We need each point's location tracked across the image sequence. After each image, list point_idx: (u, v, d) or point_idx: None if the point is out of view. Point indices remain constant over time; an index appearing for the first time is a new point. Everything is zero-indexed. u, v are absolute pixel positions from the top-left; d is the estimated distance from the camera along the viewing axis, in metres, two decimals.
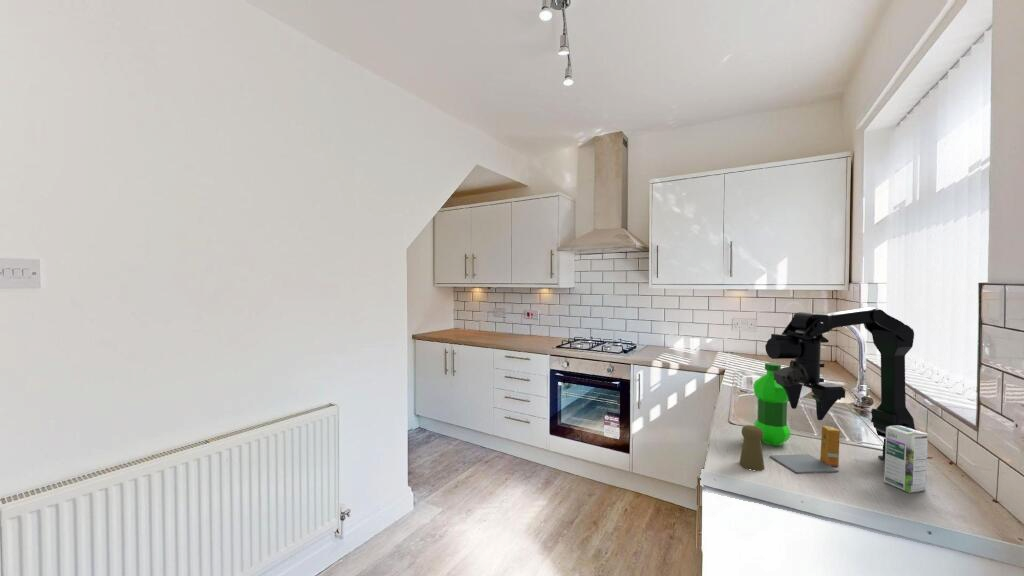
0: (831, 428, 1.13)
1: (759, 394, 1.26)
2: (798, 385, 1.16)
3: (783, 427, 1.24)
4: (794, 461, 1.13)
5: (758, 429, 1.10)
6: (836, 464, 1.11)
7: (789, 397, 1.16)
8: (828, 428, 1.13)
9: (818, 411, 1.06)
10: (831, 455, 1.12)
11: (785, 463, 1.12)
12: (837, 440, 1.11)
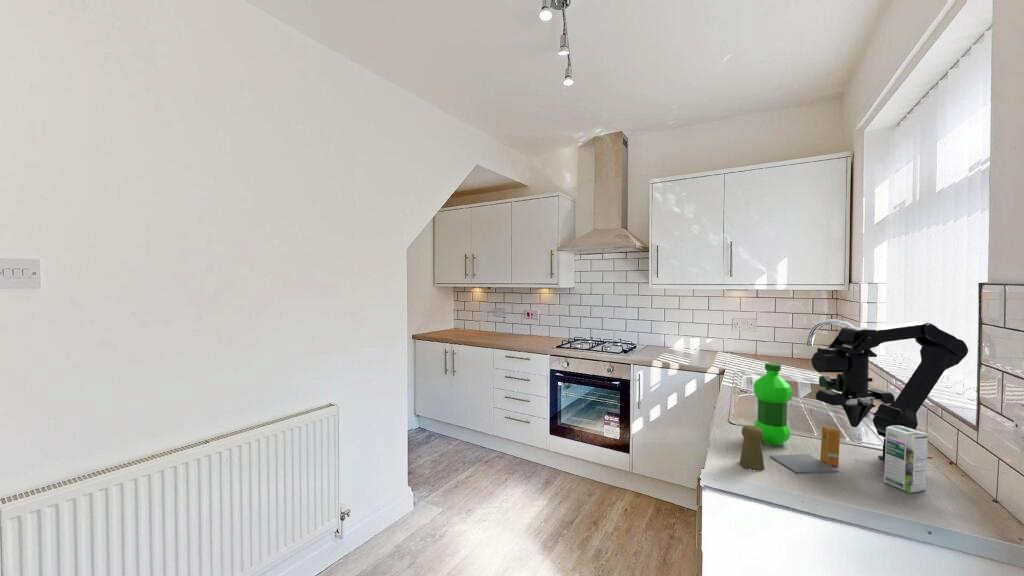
0: (831, 428, 1.13)
1: (759, 394, 1.26)
2: (862, 405, 1.12)
3: (783, 427, 1.24)
4: (794, 461, 1.13)
5: (758, 429, 1.10)
6: (836, 464, 1.11)
7: None
8: (828, 428, 1.13)
9: None
10: (831, 455, 1.12)
11: (785, 463, 1.12)
12: (837, 440, 1.11)
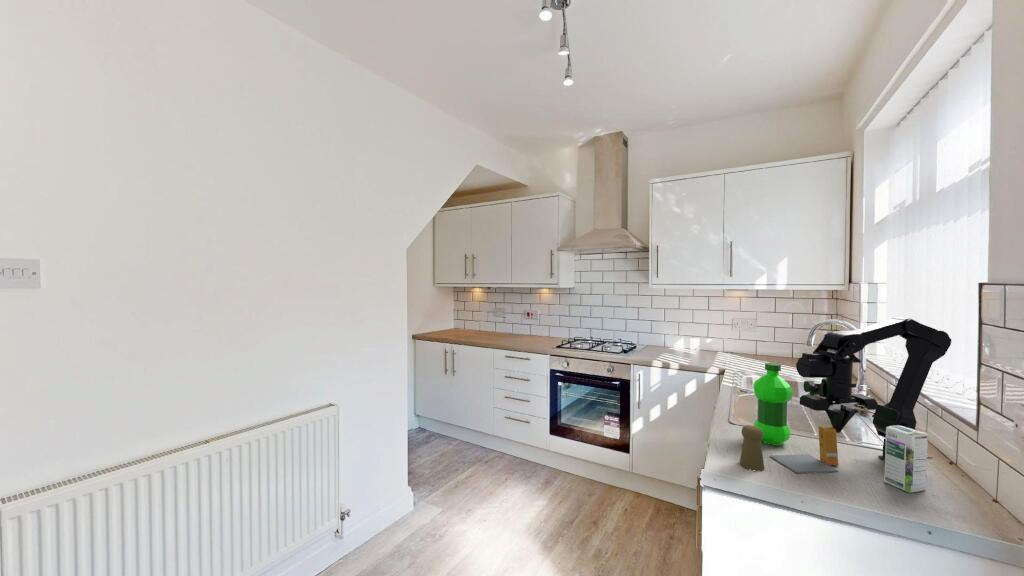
0: (827, 427, 1.13)
1: (759, 394, 1.26)
2: (845, 411, 1.11)
3: (783, 427, 1.24)
4: (794, 461, 1.13)
5: (758, 429, 1.10)
6: (836, 463, 1.11)
7: None
8: (824, 428, 1.13)
9: None
10: (830, 455, 1.12)
11: (785, 463, 1.12)
12: (834, 439, 1.11)
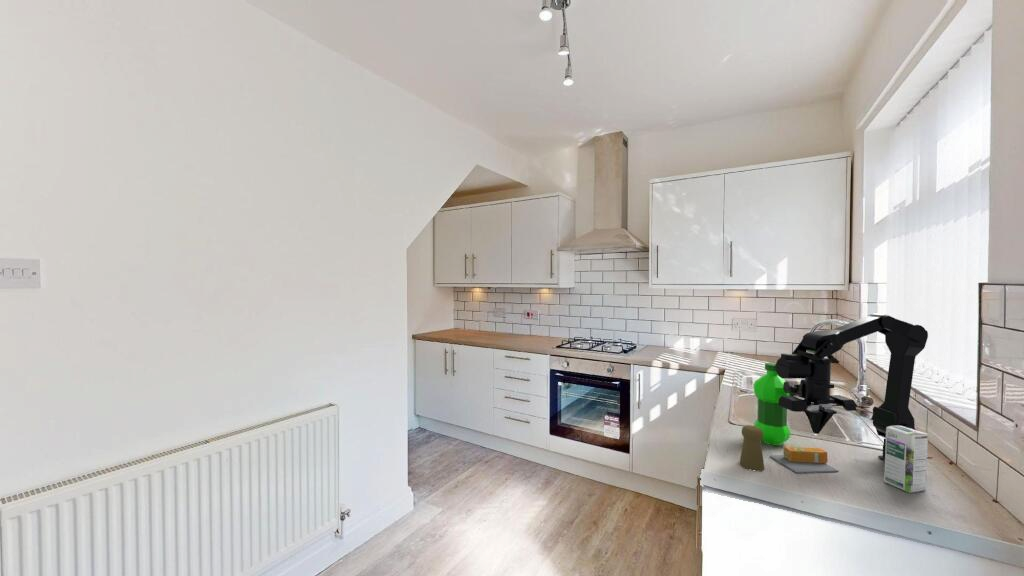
0: (786, 453, 1.15)
1: (759, 394, 1.26)
2: (823, 412, 1.11)
3: (783, 427, 1.24)
4: None
5: (758, 429, 1.10)
6: (826, 454, 1.12)
7: None
8: (787, 456, 1.14)
9: None
10: (817, 458, 1.12)
11: (785, 463, 1.12)
12: (799, 453, 1.13)
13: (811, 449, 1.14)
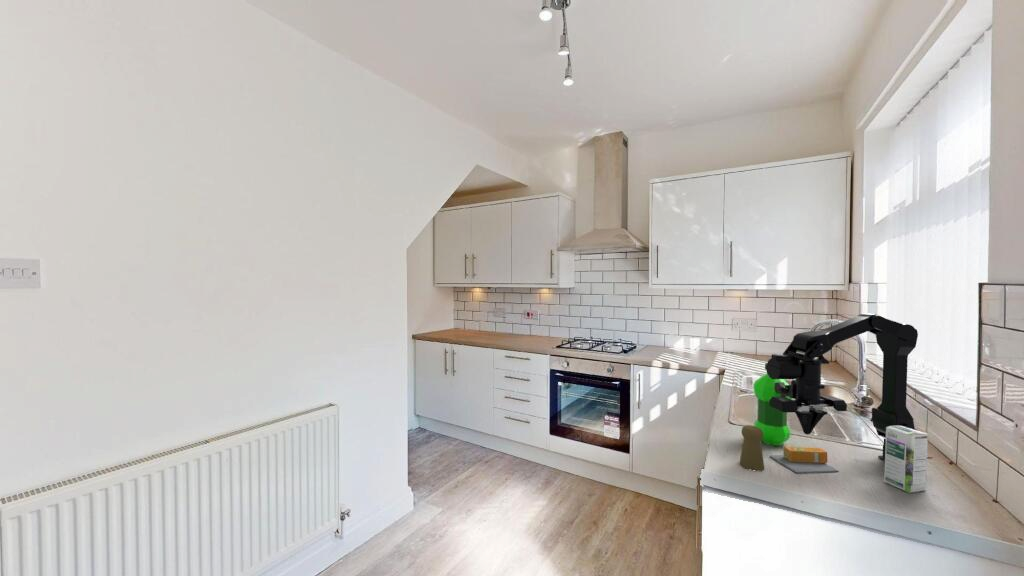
0: (786, 453, 1.15)
1: (759, 394, 1.26)
2: (814, 412, 1.11)
3: (783, 427, 1.24)
4: None
5: (758, 429, 1.10)
6: (825, 454, 1.12)
7: None
8: (787, 457, 1.14)
9: None
10: (817, 458, 1.12)
11: (785, 463, 1.12)
12: (799, 453, 1.13)
13: (811, 449, 1.14)
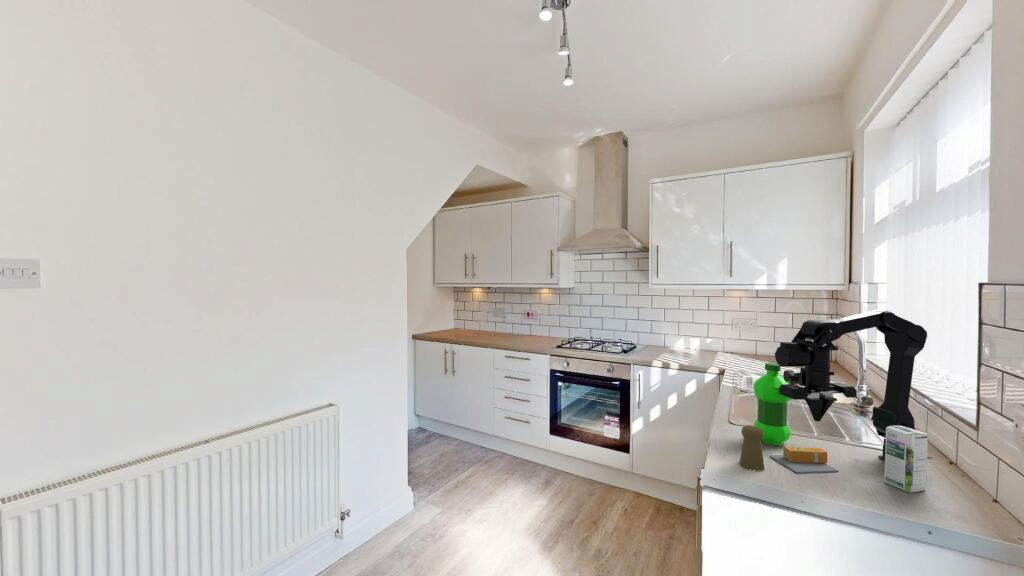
0: (786, 453, 1.15)
1: (759, 394, 1.26)
2: (824, 399, 1.11)
3: (783, 427, 1.24)
4: None
5: (758, 429, 1.10)
6: (825, 454, 1.12)
7: None
8: (787, 457, 1.14)
9: None
10: (817, 458, 1.12)
11: (785, 463, 1.12)
12: (799, 453, 1.13)
13: (811, 449, 1.14)
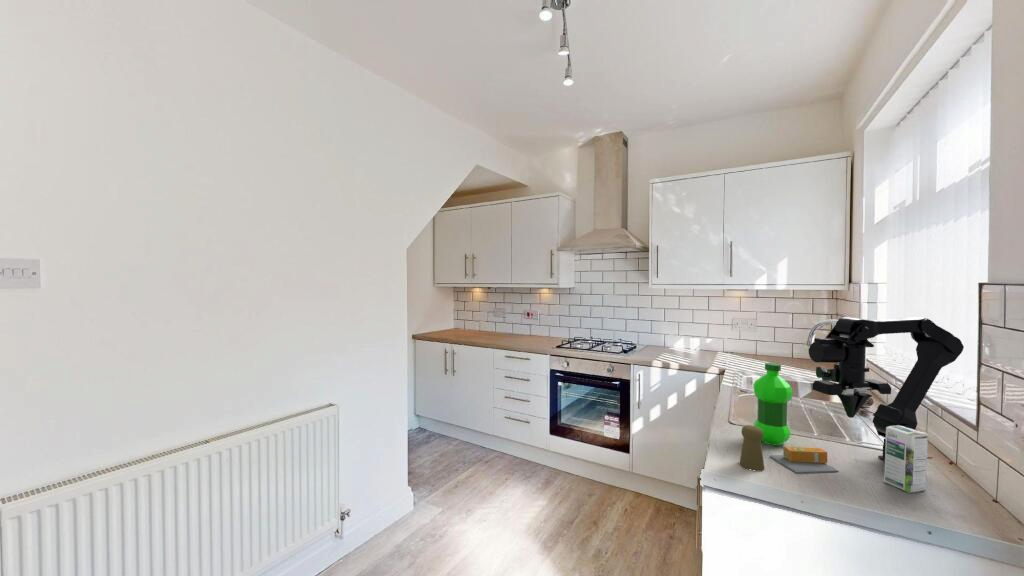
0: (786, 453, 1.15)
1: (759, 394, 1.26)
2: (858, 395, 1.11)
3: (783, 427, 1.24)
4: None
5: (758, 429, 1.10)
6: (825, 454, 1.12)
7: None
8: (787, 457, 1.14)
9: None
10: (817, 458, 1.12)
11: (785, 463, 1.12)
12: (799, 453, 1.13)
13: (811, 449, 1.14)
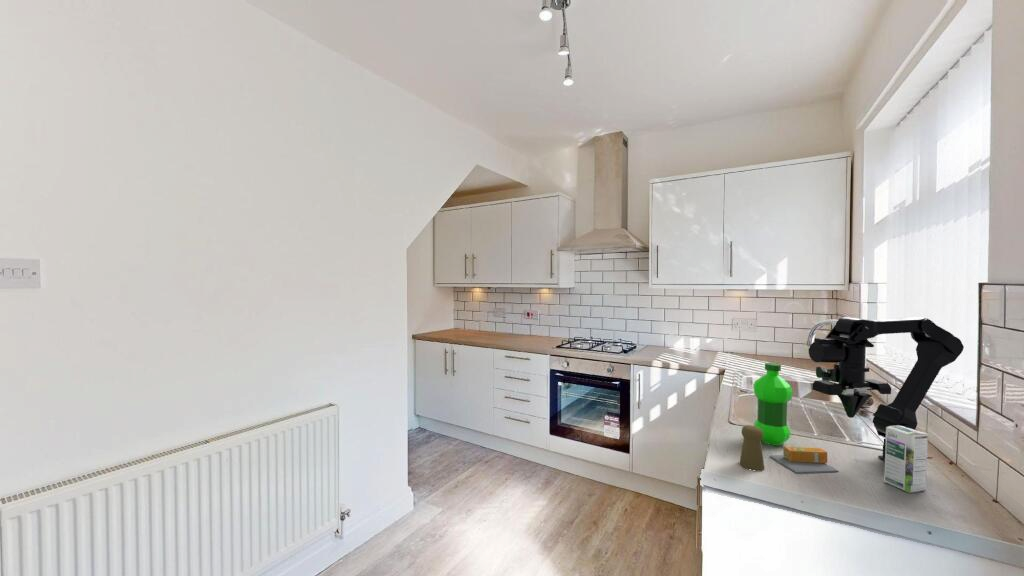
0: (786, 453, 1.15)
1: (759, 394, 1.26)
2: (858, 395, 1.11)
3: (783, 427, 1.24)
4: None
5: (758, 429, 1.10)
6: (825, 454, 1.12)
7: None
8: (787, 457, 1.14)
9: None
10: (817, 458, 1.12)
11: (785, 463, 1.12)
12: (799, 453, 1.13)
13: (811, 449, 1.14)
